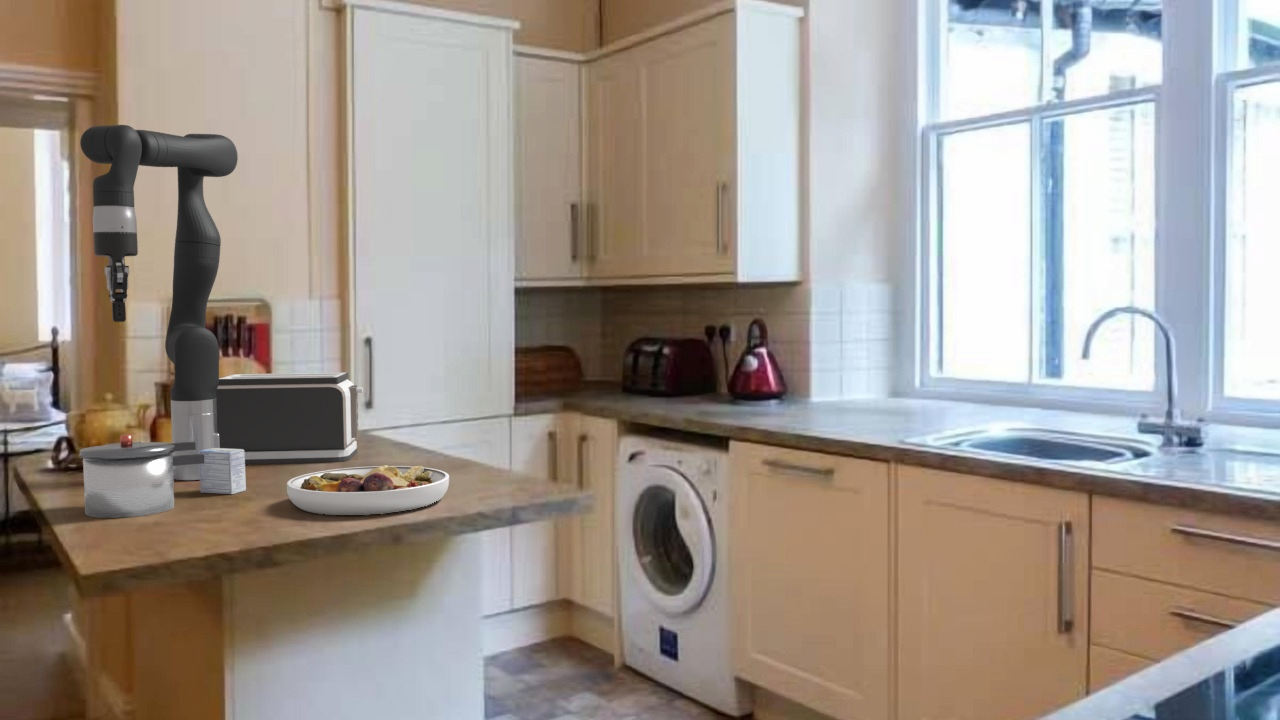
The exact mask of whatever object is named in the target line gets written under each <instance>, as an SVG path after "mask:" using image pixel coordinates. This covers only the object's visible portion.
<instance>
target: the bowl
mask: <svg viewBox="0 0 1280 720" xmlns="http://www.w3.org/2000/svg"><path fill="white" fill-rule="evenodd" d="M449 484H450V475H449V474H448V473H447V472H446V471H443V470H440V469H437V468H430V467H424V466H423V465H415V466H414V465H413V466H409V465H407V466H405V465H387V464H385V465H379V466H378V465H375V466H356V467H345V468H335V469H328V470H319V471H316V472H311V473H306V474H301V475H298V476H295V477H293V478H290V479H289V480H288V481H287V482H286V492H287V496H288V498H289V500H290V501H291V503H292V504H294V506H296V507H297V508H299V509H300V510H303V511H305V512H309V513H312V514H316V513H317V514H316V515H323V514H325V516H336V515H365V516H369V515H368V514H381V513H390V512H398V511H405V510H410V509H415V508H420V507H423V506H426V505H429V504H431V505H433V504H435V503H437V502H438V501H440V500H441V499H442V498H443V497H444V496H445V495H446V493H447V490H448V488H449ZM436 501H437V502H436ZM434 502H435V503H434ZM432 503H433V504H432ZM429 506H430V505H429ZM426 507H427V506H426ZM423 508H424V507H423ZM420 509H421V508H420ZM415 510H416V509H415ZM405 512H406V511H405ZM381 515H382V514H381Z"/></svg>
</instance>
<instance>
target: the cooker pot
mask: <svg viewBox="0 0 1280 720" xmlns="http://www.w3.org/2000/svg"><path fill="white" fill-rule="evenodd" d="M82 463H83V464H82V466H83V470H82V471H83V492H84V493H83V494H84V515H85V516H87V517H90V518H99V519H102V518H103V519H121V518H122V519H123V518H135V517H136V518H137V517H143V516H149V515H150V516H151V515H155V514H160V513H165V512H168V511H170V510H172V509H174V508H175V492H174V491H175V490H174V489H175V487H174V485H175V484H174V478H173V466H178V465H190V464H203V463H204V454H193V455H180V456H173V452H172V453H169V454H164V455H157V456H149V457H139V458H126V459H84V458H82Z"/></svg>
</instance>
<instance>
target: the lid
mask: <svg viewBox="0 0 1280 720" xmlns="http://www.w3.org/2000/svg"><path fill="white" fill-rule="evenodd" d="M187 450H196V446H195V442H181V443H172V442H166V441H165V442H164V441H163V442H161V441H159V442H156V441H152V442H151V441H149V442H147V441H146V442H145V441H144V442H142V441H135V442H134V441H133V434H121V435H120V442H117V443H106V444H103V445H97V446H89V447H85V448H84V447H83V448H81V449H79V458H80V459H126V458H139V457H149V456H157V455H164V454H169V453H172V454H173V452H175V451H187Z"/></svg>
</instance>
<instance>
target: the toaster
mask: <svg viewBox="0 0 1280 720" xmlns="http://www.w3.org/2000/svg"><path fill="white" fill-rule="evenodd" d="M363 393H364V387H361V386H358V385H356V384H354V383H353V381H351V380H349V372H307V373H306V372H297V373H295V372H294V373H293V372H292V373H290V372H288V373H287V372H284V373H283V372H282V373H238V374H237V373H235V374H230V375H227V376H223V377H219V383H218V387H217V391H216V404H217V433H219V439H220V448H227V449H243V450H244V455H245V466H246V465H249V466H251V465H281V464H282V465H285V464H286V465H287V464H321V463H323V464H325V463H329V464H330V463H332V464H333V463H343V462H348V461H350V460H351V459H352V458H353V457H354V456H355V455H356V454H357V453H358V443H357V442H358V441H356V439H358V436H359V434H358V433H359V432H358V430H359V429H358V426H359V415H358V414H359V413H358V411H359V410H358V394H363Z"/></svg>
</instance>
